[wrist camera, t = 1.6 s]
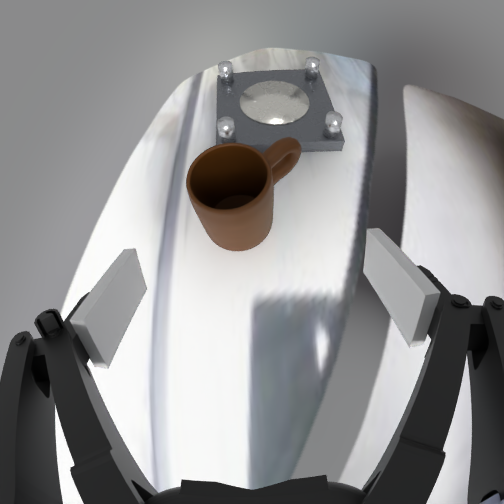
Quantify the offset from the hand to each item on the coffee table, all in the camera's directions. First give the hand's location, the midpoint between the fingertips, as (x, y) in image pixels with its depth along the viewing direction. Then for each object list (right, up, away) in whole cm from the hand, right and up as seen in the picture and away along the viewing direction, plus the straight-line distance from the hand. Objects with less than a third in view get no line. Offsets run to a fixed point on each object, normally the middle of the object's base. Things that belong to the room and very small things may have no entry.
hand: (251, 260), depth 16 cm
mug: (0, +5, +17) cm, 18 cm away
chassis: (+3, +21, +22) cm, 30 cm away
